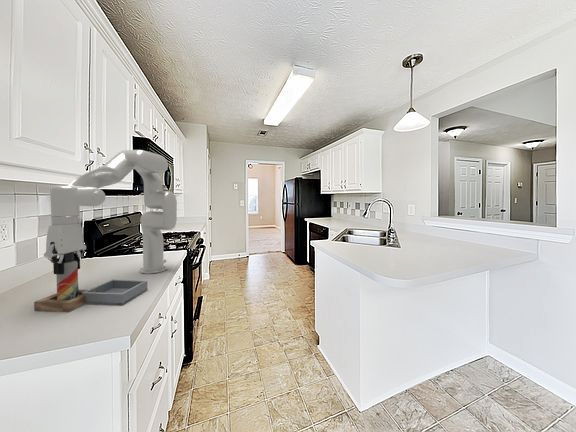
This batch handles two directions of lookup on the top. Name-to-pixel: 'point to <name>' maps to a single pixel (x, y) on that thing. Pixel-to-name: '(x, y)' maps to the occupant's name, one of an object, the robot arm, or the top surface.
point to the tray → (115, 292)
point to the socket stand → (60, 303)
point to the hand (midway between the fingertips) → (67, 270)
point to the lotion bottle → (68, 279)
